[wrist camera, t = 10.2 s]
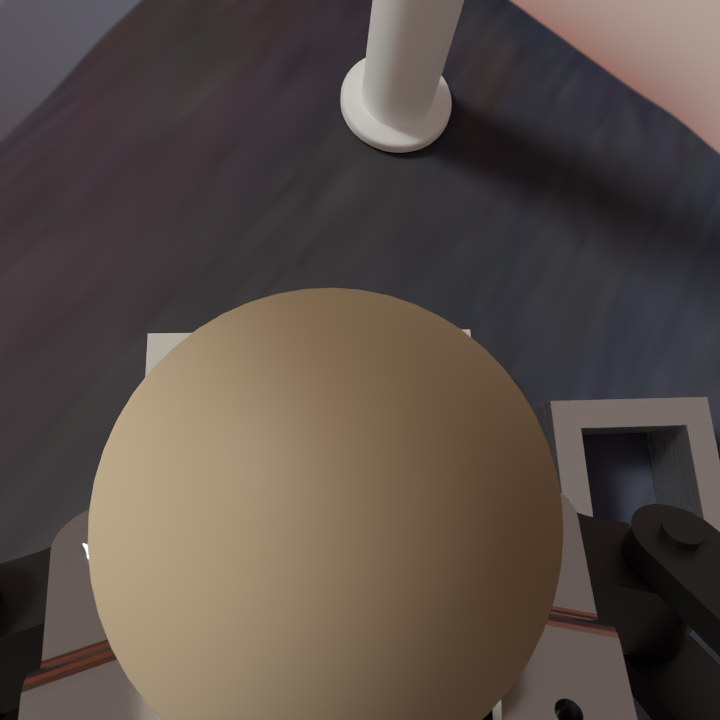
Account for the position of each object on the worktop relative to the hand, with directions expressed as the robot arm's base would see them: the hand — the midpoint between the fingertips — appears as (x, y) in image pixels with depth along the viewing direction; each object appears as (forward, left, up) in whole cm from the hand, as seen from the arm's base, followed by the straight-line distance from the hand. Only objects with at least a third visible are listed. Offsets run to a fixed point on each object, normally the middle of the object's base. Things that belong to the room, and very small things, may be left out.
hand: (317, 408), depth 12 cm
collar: (+12, -11, -18) cm, 24 cm away
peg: (-1, -2, -6) cm, 6 cm away
